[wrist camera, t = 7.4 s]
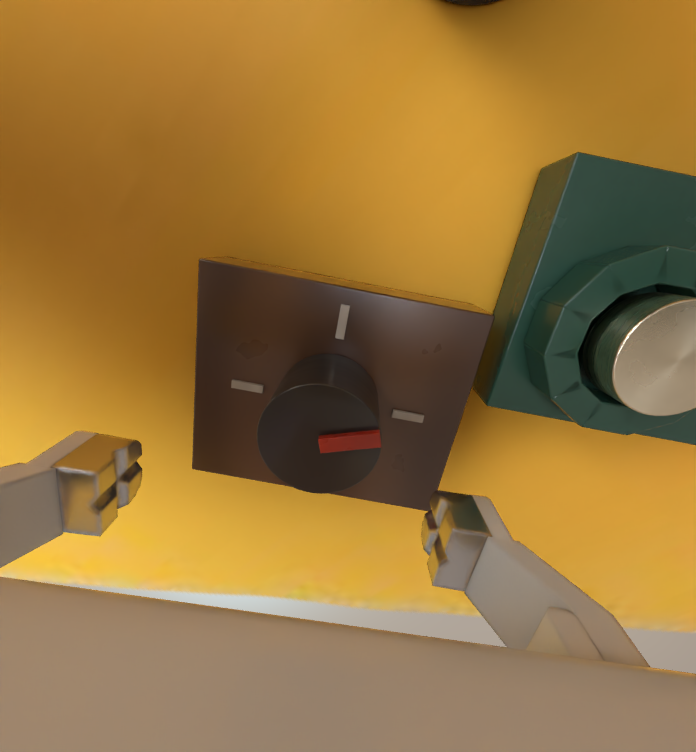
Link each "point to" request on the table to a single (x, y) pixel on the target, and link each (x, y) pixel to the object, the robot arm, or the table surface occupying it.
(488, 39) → the table surface
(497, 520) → the robot arm
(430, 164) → the table surface
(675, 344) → the power button
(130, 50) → the table surface
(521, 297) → the lamp base
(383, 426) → the dimmer
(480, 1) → the travel mug
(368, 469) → the dimmer knob
